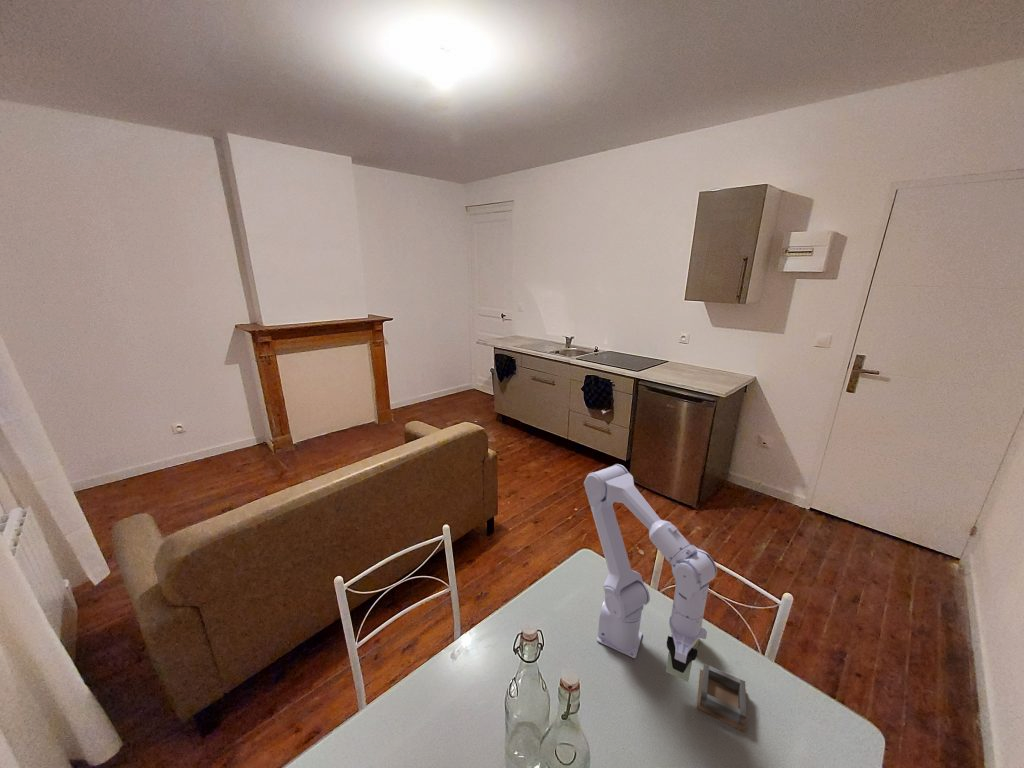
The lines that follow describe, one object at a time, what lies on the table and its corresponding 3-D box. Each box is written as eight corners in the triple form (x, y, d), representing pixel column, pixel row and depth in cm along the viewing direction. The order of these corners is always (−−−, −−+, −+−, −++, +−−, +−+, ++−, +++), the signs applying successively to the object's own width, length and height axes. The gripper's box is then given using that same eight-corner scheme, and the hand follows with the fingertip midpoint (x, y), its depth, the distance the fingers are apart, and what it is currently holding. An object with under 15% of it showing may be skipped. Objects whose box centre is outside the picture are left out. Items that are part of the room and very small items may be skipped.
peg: (665, 672, 81) (670, 642, 79) (668, 654, 85) (673, 626, 83) (688, 682, 79) (693, 652, 77) (690, 664, 83) (695, 635, 81)
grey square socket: (696, 708, 80) (698, 696, 80) (699, 671, 88) (701, 660, 87) (746, 732, 76) (749, 720, 75) (745, 692, 84) (747, 680, 83)
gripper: (708, 645, 70) (697, 700, 74) (712, 591, 82) (702, 641, 86) (666, 628, 73) (658, 682, 77) (676, 578, 85) (669, 627, 89)
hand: (679, 659), depth 82 cm, fingers closed on peg, 4 cm apart
